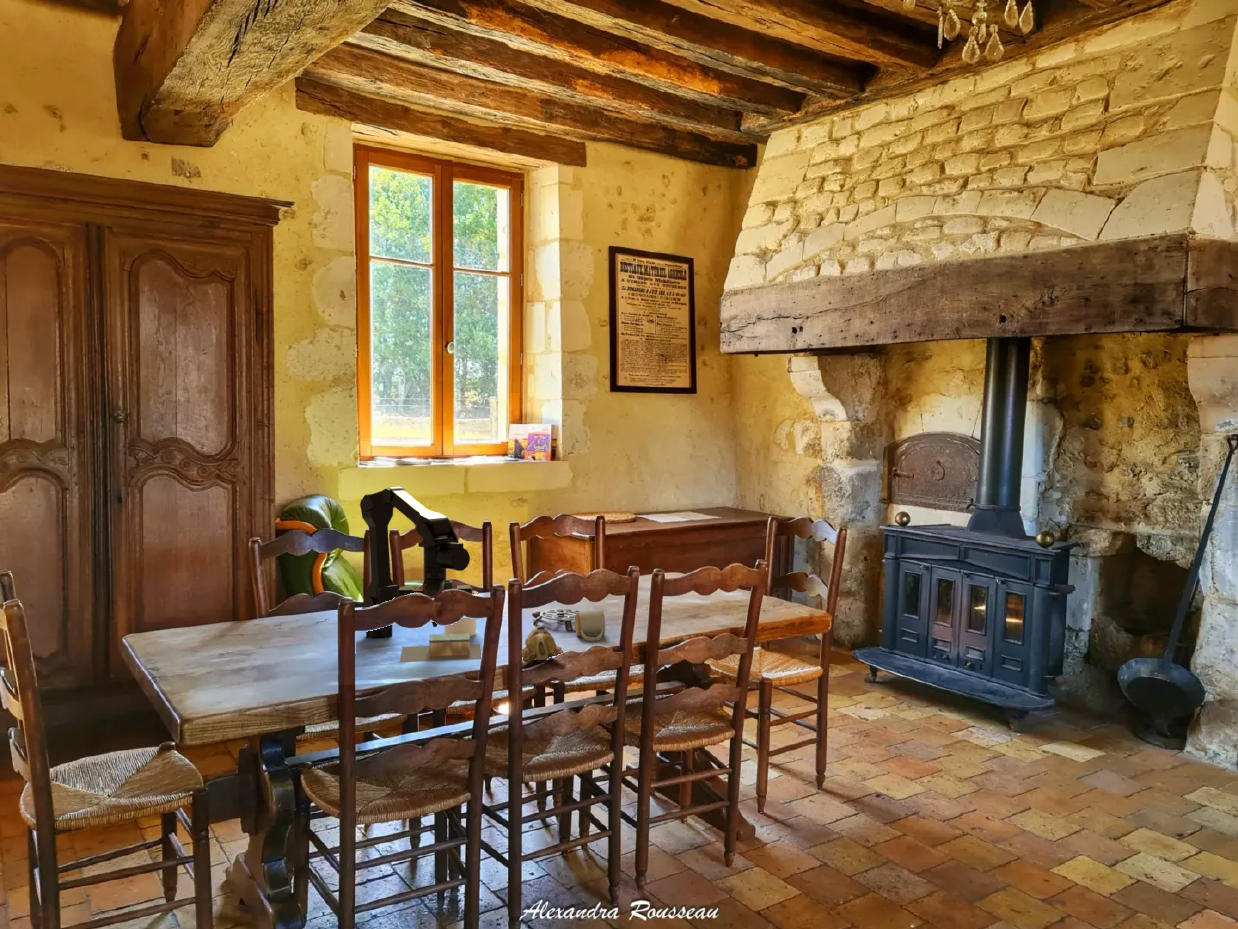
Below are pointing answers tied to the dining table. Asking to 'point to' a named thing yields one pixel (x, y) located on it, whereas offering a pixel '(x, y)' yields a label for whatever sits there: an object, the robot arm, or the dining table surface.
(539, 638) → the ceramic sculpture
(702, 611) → the dining table surface
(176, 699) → the dining table surface
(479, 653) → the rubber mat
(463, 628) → the candle holder
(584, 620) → the ceramic mug
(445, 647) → the wooden block
